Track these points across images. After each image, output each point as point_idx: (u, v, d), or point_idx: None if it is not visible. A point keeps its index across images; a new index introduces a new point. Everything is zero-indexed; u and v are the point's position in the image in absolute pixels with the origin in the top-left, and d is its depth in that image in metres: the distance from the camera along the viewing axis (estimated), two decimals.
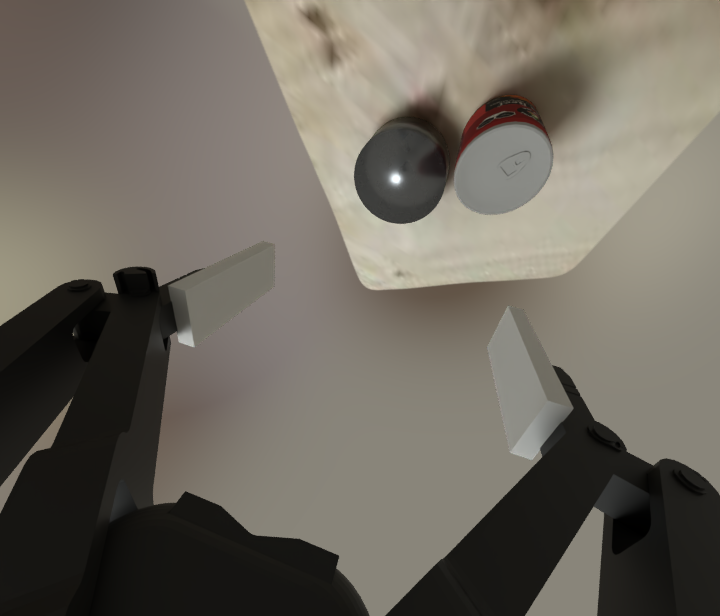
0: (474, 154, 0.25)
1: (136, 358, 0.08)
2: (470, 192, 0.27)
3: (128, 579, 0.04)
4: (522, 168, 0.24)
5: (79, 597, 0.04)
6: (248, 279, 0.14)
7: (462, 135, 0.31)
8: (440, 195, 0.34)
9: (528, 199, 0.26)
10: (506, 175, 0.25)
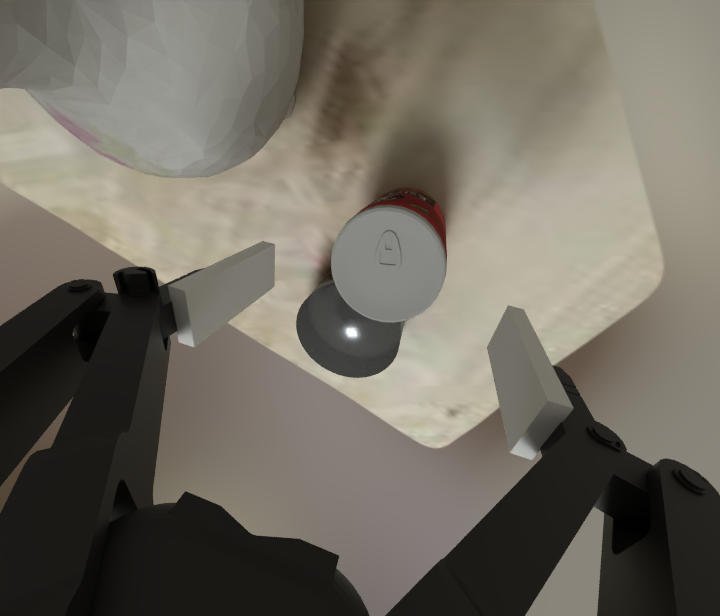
0: (344, 274, 0.20)
1: (136, 358, 0.08)
2: (381, 307, 0.20)
3: (128, 579, 0.04)
4: (399, 247, 0.18)
5: (79, 597, 0.04)
6: (248, 279, 0.14)
7: None
8: None
9: (442, 266, 0.17)
10: (394, 265, 0.18)
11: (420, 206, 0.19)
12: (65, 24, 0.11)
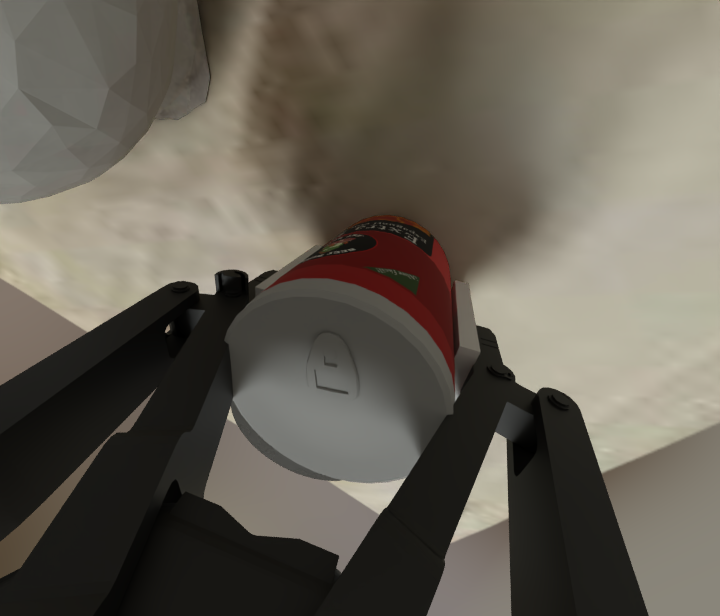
0: (255, 397, 0.10)
1: (216, 356, 0.08)
2: (329, 453, 0.10)
3: (153, 597, 0.04)
4: (354, 364, 0.08)
5: (79, 597, 0.04)
6: None
7: None
8: None
9: (446, 413, 0.08)
10: (344, 394, 0.09)
11: (402, 268, 0.09)
12: None
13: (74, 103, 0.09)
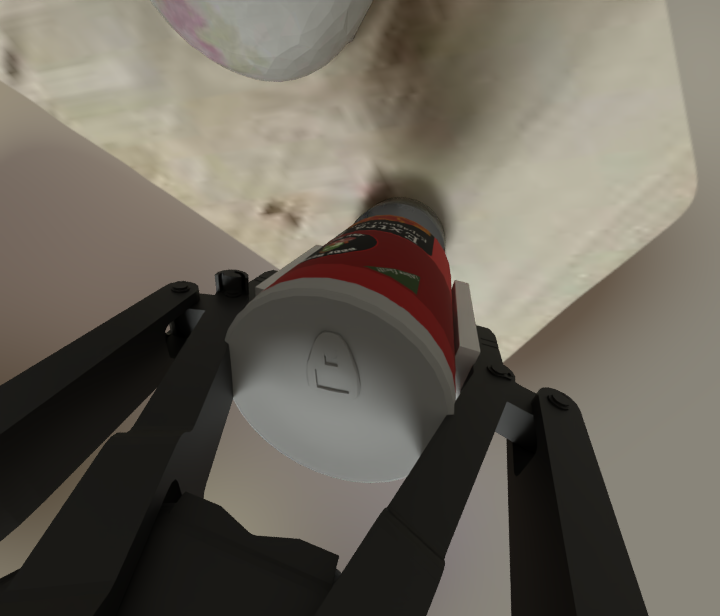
0: (255, 396, 0.10)
1: (215, 356, 0.08)
2: (329, 453, 0.10)
3: (153, 597, 0.04)
4: (354, 364, 0.08)
5: (79, 597, 0.04)
6: None
7: None
8: (439, 235, 0.29)
9: (447, 413, 0.08)
10: (345, 394, 0.09)
11: (402, 267, 0.09)
12: None
13: (351, 19, 0.20)
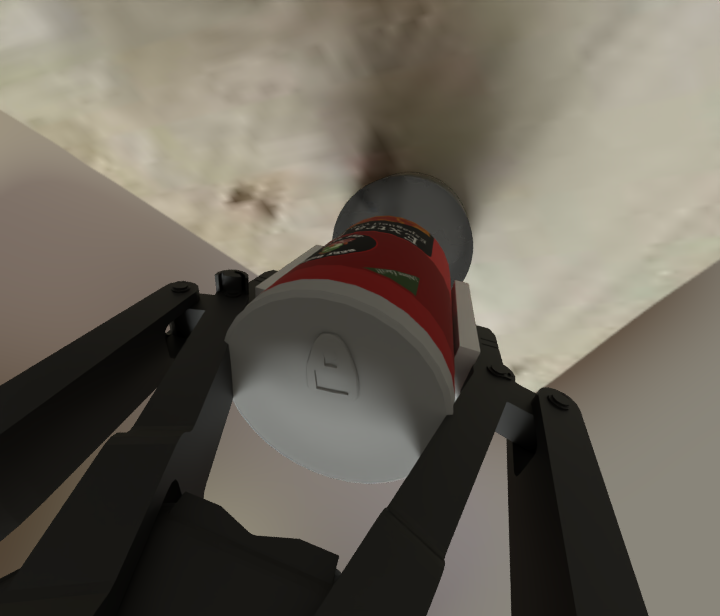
0: (255, 397, 0.10)
1: (216, 356, 0.08)
2: (329, 453, 0.10)
3: (152, 597, 0.04)
4: (354, 365, 0.08)
5: (79, 597, 0.04)
6: None
7: None
8: (465, 220, 0.20)
9: (446, 414, 0.08)
10: (344, 394, 0.09)
11: (401, 268, 0.09)
12: None
13: None
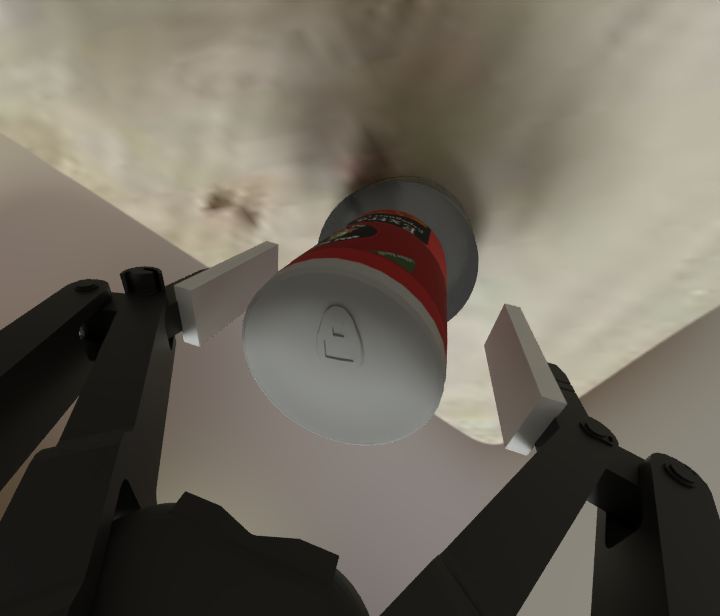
0: (270, 368, 0.11)
1: (142, 357, 0.08)
2: (336, 419, 0.12)
3: (130, 580, 0.04)
4: (358, 334, 0.09)
5: (79, 597, 0.04)
6: (252, 279, 0.15)
7: None
8: (469, 233, 0.17)
9: (438, 374, 0.09)
10: (350, 362, 0.10)
11: (400, 252, 0.11)
12: None
13: None
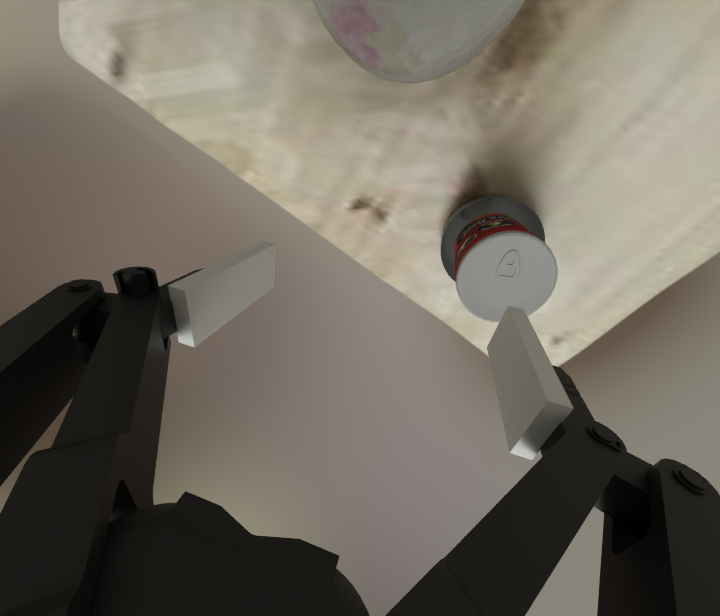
0: (467, 282, 0.25)
1: (136, 358, 0.08)
2: (493, 309, 0.25)
3: (128, 579, 0.04)
4: (520, 263, 0.23)
5: (79, 597, 0.04)
6: (248, 279, 0.14)
7: None
8: (541, 228, 0.31)
9: (554, 279, 0.22)
10: (511, 277, 0.23)
11: None
12: None
13: (503, 27, 0.22)
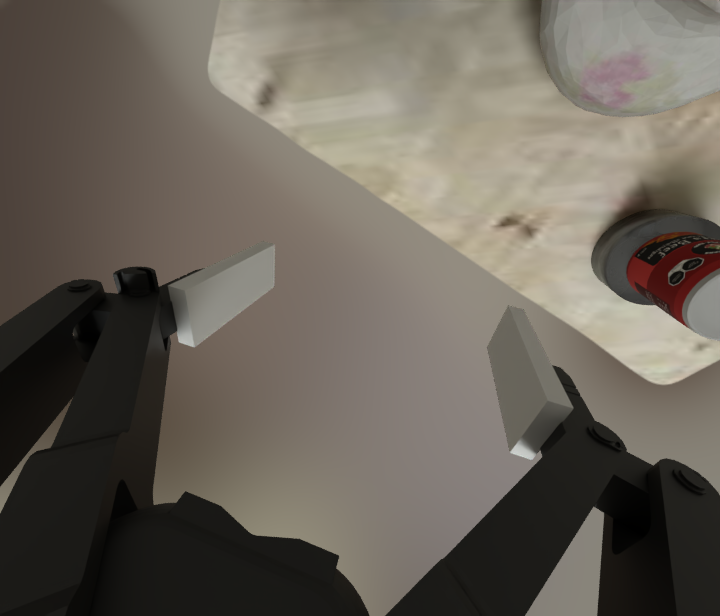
0: (699, 305, 0.26)
1: (136, 358, 0.08)
2: None
3: (128, 579, 0.04)
4: None
5: (79, 597, 0.04)
6: (248, 279, 0.14)
7: (635, 285, 0.34)
8: None
9: None
10: None
11: None
12: None
13: None
